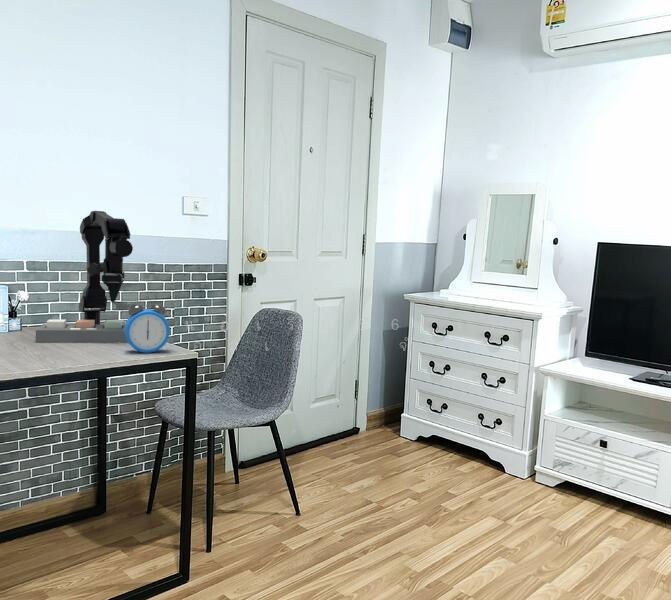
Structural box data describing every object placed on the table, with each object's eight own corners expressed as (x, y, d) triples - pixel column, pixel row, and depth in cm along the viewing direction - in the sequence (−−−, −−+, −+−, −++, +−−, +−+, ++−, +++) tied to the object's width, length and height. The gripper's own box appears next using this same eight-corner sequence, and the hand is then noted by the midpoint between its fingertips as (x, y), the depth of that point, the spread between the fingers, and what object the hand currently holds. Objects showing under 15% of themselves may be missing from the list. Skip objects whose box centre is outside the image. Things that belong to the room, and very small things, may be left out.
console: (42, 335, 211) (42, 323, 211) (129, 336, 219) (129, 324, 219) (35, 342, 199) (35, 329, 198) (127, 342, 207) (127, 330, 206)
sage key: (105, 329, 214) (105, 319, 214) (122, 330, 216) (122, 320, 216) (104, 332, 209) (104, 322, 209) (121, 332, 211) (121, 322, 210)
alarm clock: (125, 354, 188) (126, 305, 186) (124, 350, 193) (124, 302, 192) (169, 353, 193) (170, 305, 191) (167, 349, 198) (167, 303, 197)
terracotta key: (77, 329, 212) (77, 319, 212) (94, 329, 213) (94, 319, 213) (75, 332, 207) (75, 321, 206) (92, 332, 208) (93, 322, 208)
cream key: (49, 329, 209) (49, 319, 209) (66, 329, 211) (66, 319, 211) (46, 332, 204) (46, 321, 204) (64, 332, 206) (64, 321, 205)
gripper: (91, 253, 217) (91, 297, 218) (85, 255, 199) (85, 303, 200) (125, 254, 220) (124, 298, 221) (122, 257, 202) (121, 304, 203)
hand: (113, 300), depth 211 cm, fingers open, 6 cm apart
